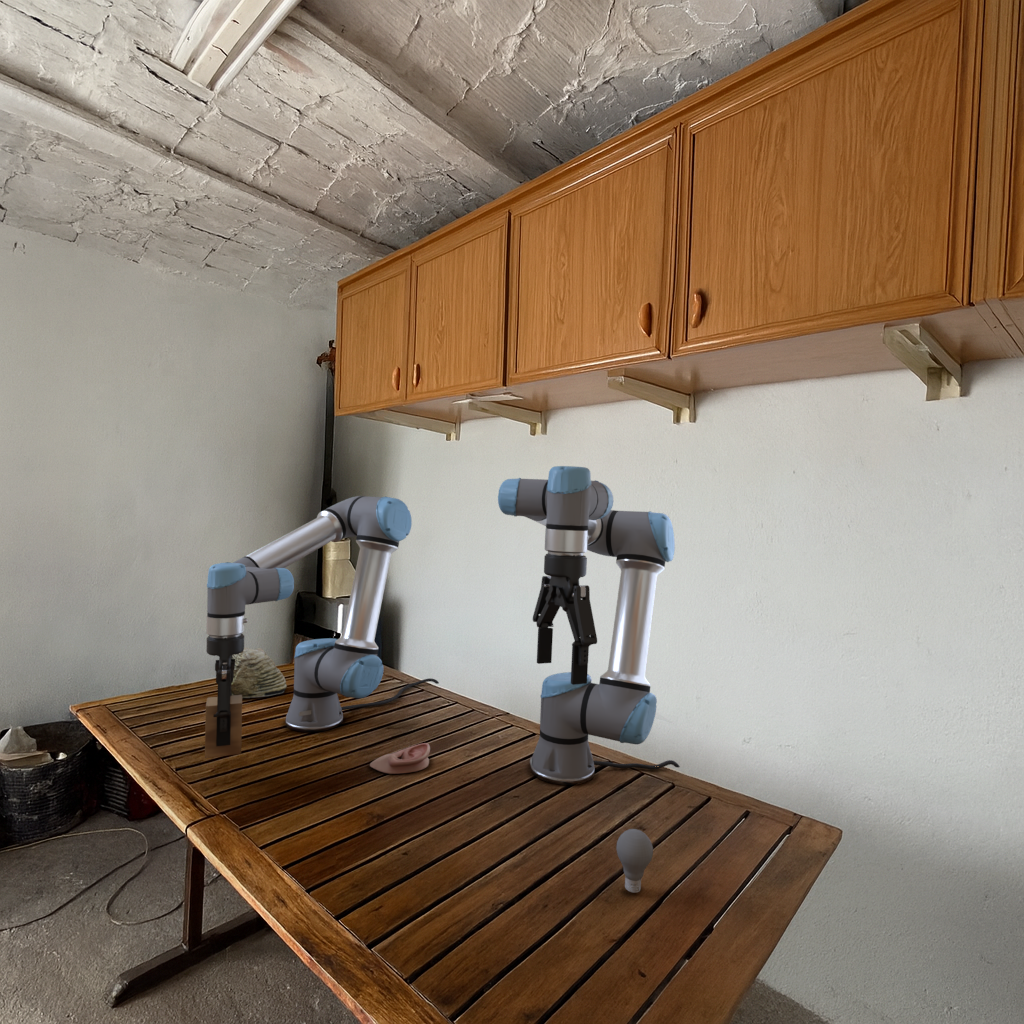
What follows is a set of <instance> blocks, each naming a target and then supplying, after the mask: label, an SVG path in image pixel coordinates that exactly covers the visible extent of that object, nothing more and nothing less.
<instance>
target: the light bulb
mask: <svg viewBox="0 0 1024 1024" xmlns="http://www.w3.org/2000/svg"><path fill="white" fill-rule="evenodd" d="M615 849H616V854H617V857H618V859H619V861H620V863H621V865H622V867H623V873H624V874H623V875H624V876H625V878H624V888H625V890H627V891H628V892H630V893H634V894H635V893H639V892H640V891H641V889H642V887H641V886H642V879H643V877H644V875H645V871H646V868H647V867H648V866H649V864H650V863H651V861H652V859H653V855H654V847H653V843H652V841H651V838H649V836H648V835H647V834H646V833H645V832H643V831H642V830H641V829H636V828H629V829H627V830H625V831H623V832H622V833H621V834H620V835H619V837H618V839H617V841H616V847H615Z"/></svg>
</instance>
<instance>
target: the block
mask: <svg viewBox="0 0 1024 1024" xmlns="http://www.w3.org/2000/svg"><path fill="white" fill-rule="evenodd" d="M217 697H218V696H211V697H210V696H209V697H207V698H206V703H205V721H204V722H205V723H204V724H205V725H204V727H205V728H204V730H205V731H204V759H209V758H210V759H211V758H217V757H227V756H236V755H241V754H242V735H243V733H242V731H243V698H242V695H233V696H230V711H231V729H230V745H225V746H216V734H217V717H213V715H214V714H216V713H217Z"/></svg>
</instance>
